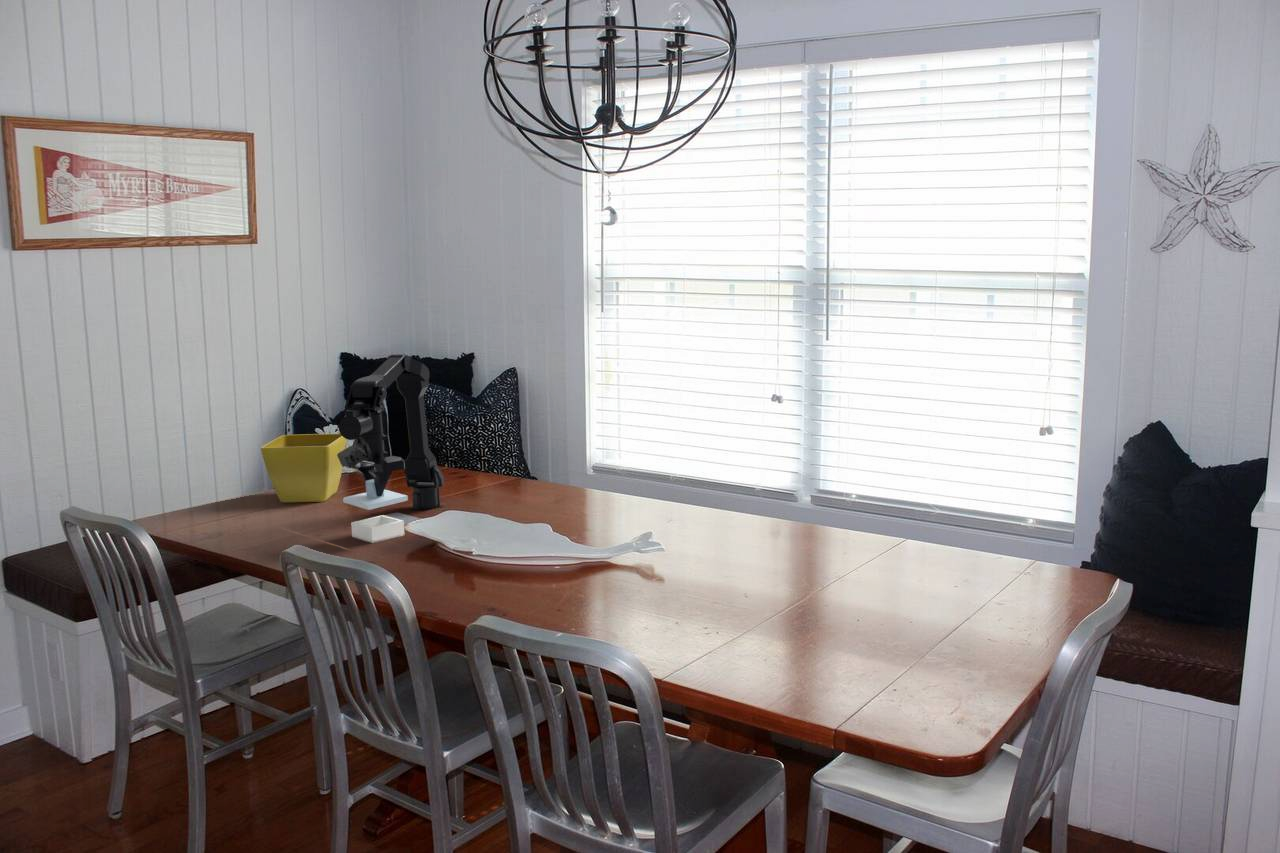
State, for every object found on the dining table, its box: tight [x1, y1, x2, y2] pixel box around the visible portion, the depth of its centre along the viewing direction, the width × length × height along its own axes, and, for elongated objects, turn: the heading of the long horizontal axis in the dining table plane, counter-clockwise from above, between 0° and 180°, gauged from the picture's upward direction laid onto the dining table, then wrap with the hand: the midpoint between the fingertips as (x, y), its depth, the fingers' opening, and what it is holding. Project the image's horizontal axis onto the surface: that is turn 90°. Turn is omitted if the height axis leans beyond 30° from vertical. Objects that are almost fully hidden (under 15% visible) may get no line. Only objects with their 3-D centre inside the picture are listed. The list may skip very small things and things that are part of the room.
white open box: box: [350, 514, 405, 544], centre depth 266 cm, size 9×9×4 cm
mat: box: [383, 512, 422, 526], centre depth 280 cm, size 13×13×1 cm
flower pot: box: [260, 433, 347, 503], centre depth 311 cm, size 19×19×17 cm
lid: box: [342, 479, 409, 511], centre depth 265 cm, size 11×11×5 cm
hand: (375, 495), depth 265 cm, fingers closed on lid, 3 cm apart
